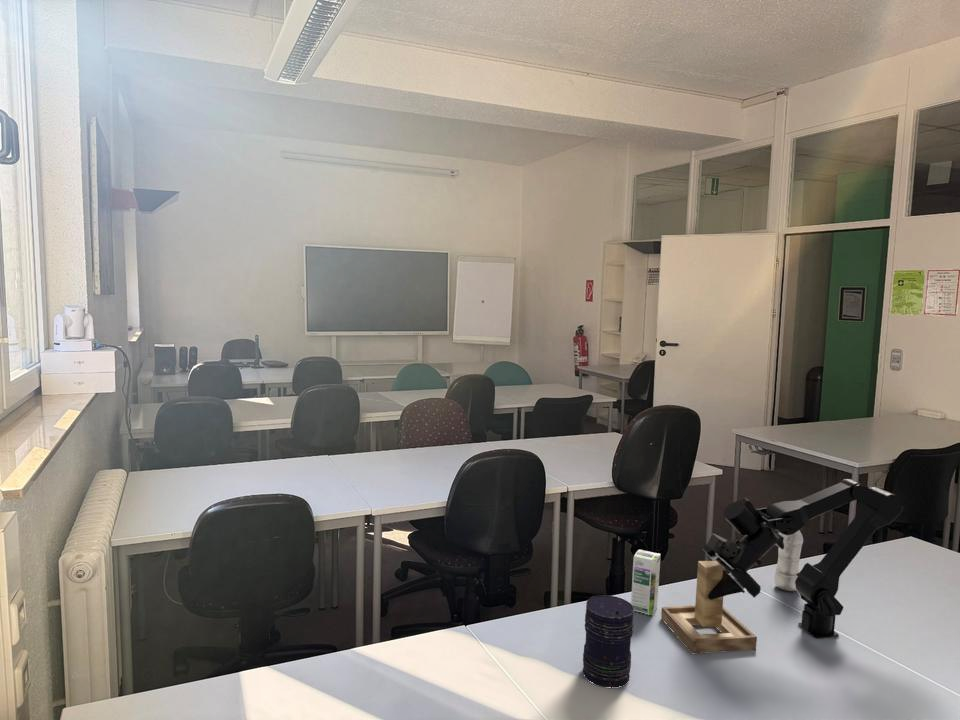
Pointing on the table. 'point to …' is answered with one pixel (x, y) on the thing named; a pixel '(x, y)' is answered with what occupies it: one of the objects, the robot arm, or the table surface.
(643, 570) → the syrup box
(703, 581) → the peg
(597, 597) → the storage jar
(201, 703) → the table surface
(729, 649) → the socket box
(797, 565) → the plastic bottle
